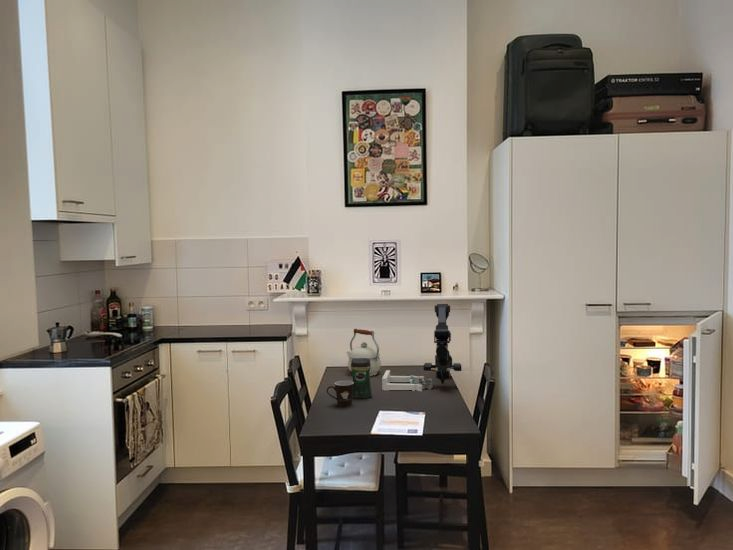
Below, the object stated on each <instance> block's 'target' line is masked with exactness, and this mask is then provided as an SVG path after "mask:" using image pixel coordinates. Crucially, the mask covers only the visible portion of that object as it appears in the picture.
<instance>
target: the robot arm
mask: <svg viewBox="0 0 733 550" xmlns="http://www.w3.org/2000/svg"><path fill="white" fill-rule="evenodd" d="M434 313H435V316H436V317H437V324H436V325H435V329H434V331H433V334H434V335H433V337H434V338H433V341H434V342H433V343H434V344H436V346H435V347H436V348H435V356H434V364H433V363H432V362H425V363H423V371H425V372H427V371H432V370H433V369H434V370H435V371H434V372H435V373H436V377H437V379H439V380H440V381H441V384H442V385H444V384H445V380H446V379H450V372H451V369H452V370H454V372H462V364H461V363H459V362H453V357H452V355H451V354H450V351H449V344H450V343H451V341H452V333H451V331H450V330H449V326H448V325H447V320H448V318H449V317H450V313H451V305H449V304H448V303H436V305H434Z"/></svg>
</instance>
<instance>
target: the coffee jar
mask: <svg viewBox="0 0 733 550" xmlns="http://www.w3.org/2000/svg"><path fill="white" fill-rule="evenodd" d="M370 369H371V364H370V359H369V358H353V359H352V361H351V370H352V371H351V370H350V371H351V373H352V374H351V377H352V378H351V379H352V380H351V381H352V382H354V385H353V397H352V399H369V398H371V397H372V395H373V391H372V384H371V376H370Z"/></svg>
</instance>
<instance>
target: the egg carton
mask: <svg viewBox="0 0 733 550" xmlns="http://www.w3.org/2000/svg"><path fill="white" fill-rule="evenodd" d="M418 377H419V376H417V379H418V380H417V383H416V384H419V385H422V384H423V385H422V389H424V390H426V389H425V388H427V390H432V389H431V388H433V387H434V384H433V383H434V382H433V379H432V378H427V379H425V378H424V380H423V381H422V379H421V378H418Z"/></svg>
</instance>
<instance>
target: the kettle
mask: <svg viewBox="0 0 733 550" xmlns="http://www.w3.org/2000/svg"><path fill="white" fill-rule="evenodd" d="M357 334H359V335H366V336H371V338H372V341H373V343H374V345H375V346H376V348H375V347H373V346H368V343H367V342H365V341H363V342H362V343H361V344H360V346H356V347H355V348H353V341H354V339H355V338H356V336H357ZM349 348H350V349H349V351H346V354H347V357H348V362H347V366H348V369H349V371H351V372H352V370H351V361H352V359H353V358H369V359H370V364H371V369H370V377H373V375H374V376H376V375H377V374H378V371H379V370H380V369H381V365H382V362H381V358H380V356H381V354H380V347H379V344H378V342H377V340H376V339H375V331H374V330H368V329H360V328H359V329H358V328H353V337H351V340H350V342H349Z"/></svg>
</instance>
